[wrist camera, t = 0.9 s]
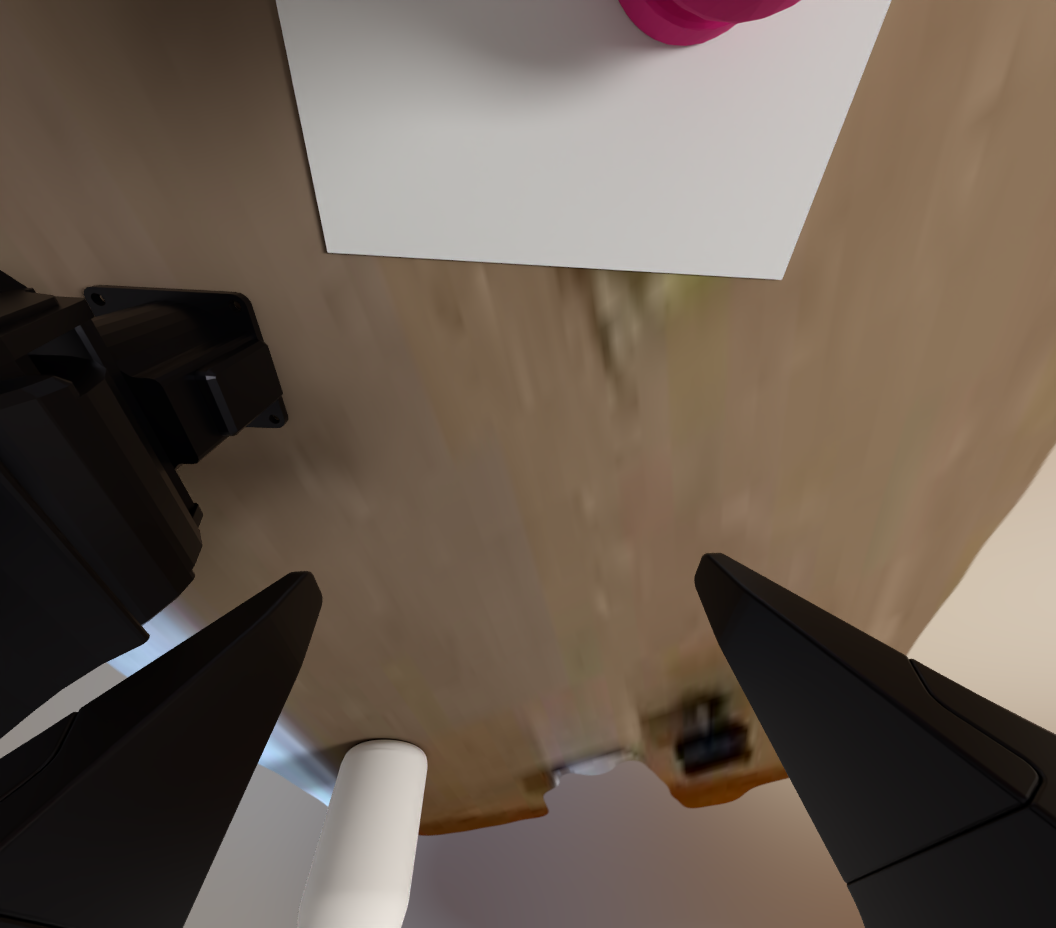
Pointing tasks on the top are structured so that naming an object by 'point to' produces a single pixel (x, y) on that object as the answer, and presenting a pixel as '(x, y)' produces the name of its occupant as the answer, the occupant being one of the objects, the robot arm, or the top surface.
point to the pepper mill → (696, 17)
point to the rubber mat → (570, 130)
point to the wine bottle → (367, 840)
